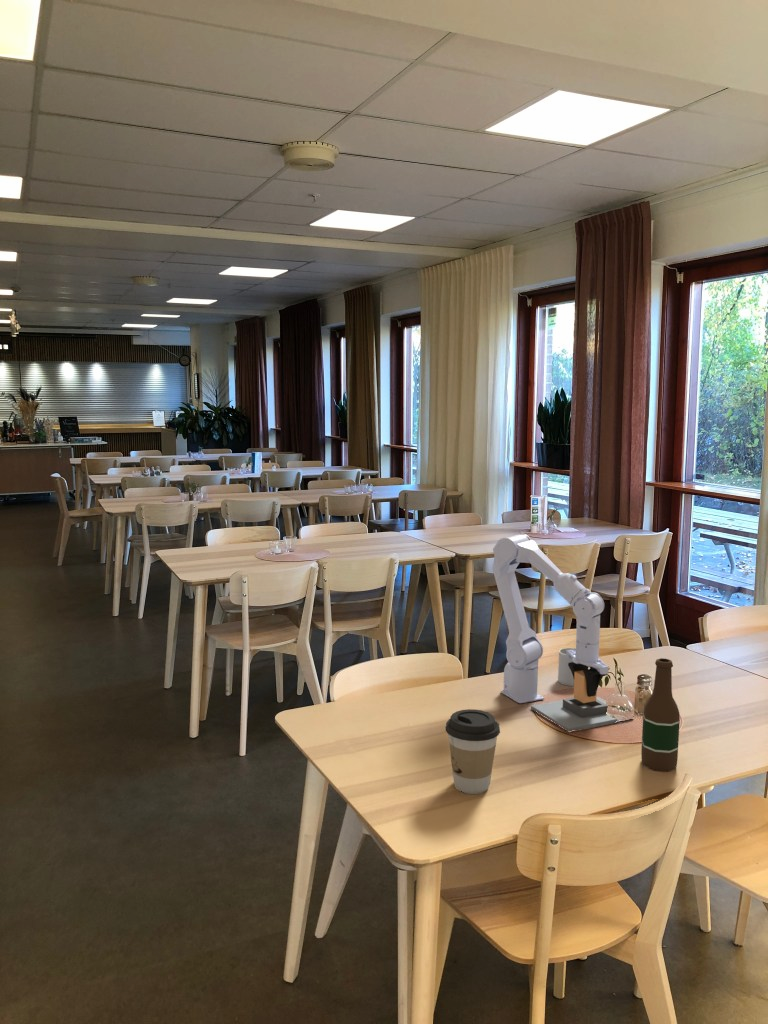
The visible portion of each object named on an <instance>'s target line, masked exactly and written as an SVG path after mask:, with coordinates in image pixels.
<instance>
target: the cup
mask: <svg viewBox="0 0 768 1024" xmlns="http://www.w3.org/2000/svg"><path fill="white" fill-rule="evenodd" d="M567 650H575V651H576V647H575V648H574V647H565V648H564V647H563V648H560V649H559V650H558V667H557V669H558V670H557V671H558V672H557V673H558V674H557V675H558V676H557V679H558V682H559V684H561V685H564V686H568V687H574V678H573V675H572V672H571V670H570V668H569V666H568V663H570V662H572V659H571V658H567V657H566V653H567Z"/></svg>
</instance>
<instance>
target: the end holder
mask: <svg viewBox="0 0 768 1024" xmlns="http://www.w3.org/2000/svg"><path fill="white" fill-rule="evenodd" d="M606 701H607V700H605V699H603V698H602V697H600V696H597V697H596V701H593V702H587V703H582V702H580V701H579V700H577V699H575V698H574V697H570V698H563V699H560V700H554V701H548V702H543V703H538V704H532V705H530V710H532V711H533V710H534V711H533V712H535V711H537V712H538V713H540V714H542V715H543V716H545V717H547V718H548V719H550V720H552V721H553V722H555V723H556V724H558V725H560V726H561V727H563V728H564V729H566V730H567V731H572V730H579V729H584V730H588V729H593V728H597V727H603V726H609V725H611V724H616V723H615V722H616V721H617V719H615V718H612V717H610V716H609V715H607V714H606V712H607V708H608V705H606ZM538 713H537V714H538ZM632 715H633V717H634V718H635V715H634V714H632ZM543 716H542V717H543ZM548 719H547V720H548ZM556 724H555V725H556ZM564 729H563V730H564ZM567 731H566V732H567ZM579 731H580V730H579Z"/></svg>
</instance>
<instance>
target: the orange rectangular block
mask: <svg viewBox="0 0 768 1024" xmlns="http://www.w3.org/2000/svg"><path fill="white" fill-rule="evenodd" d="M597 695H598V691H597V692H596V695H595V696H591V697H589V696H587V687H586V679H585V675H584V673H583V670H582V671H576V672H575V675H574V686H573V698H575V699H577V700H579V701H580V702H582V703H587V702H593V701H596V697H597Z"/></svg>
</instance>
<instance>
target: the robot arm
mask: <svg viewBox="0 0 768 1024" xmlns="http://www.w3.org/2000/svg"><path fill="white" fill-rule="evenodd" d="M492 551H493V555H494V557H493V564H492V571H493V574H494V575H493V576H494V579H495V582H496V586H497V587H496V588H497V590H498V594H499V598H500V601H501V605H502V609H503V614H504V617H505V621H506V625H507V628H508V632H509V633H508V636H507V638H506V640H505V645H506V654H505V656H506V659H507V663H506V664H505V666H504V668H503V669H504V670H503V689H501V690H500V693H502V694H503V695H505V696H507V697H508V698H509V699H511V700H512V701H514V702H516V703H518V704H524V703H530V702H535V701H541V700H544V699H545V697H544V696H542V695H540V693H538V684H539V683H538V682H539V679H538V678H539V676H538V675H539V659H541V658H542V656H543V654H544V647H543V644H542V643H541V641H540V640H539V638H538V637H537V633H536V631H535V630H533V629H532V628H531V627H530V625H529V621H528V618H527V613H526V611H525V607H524V603H523V598H522V595H521V592H520V587H519V584H518V580H517V576H516V573H515V572H516V569H517V567H518V566H519V565H520V563H525V564H531V565H532V566H533V567H534V568H536V569H537V571H539V572H540V573H541V574H543V575H544V576H545V577H546V578H547V579H549V580H550V581H551V582H552V583H553V589H554V591H555V592H557V593H558V595H560V596H561V598H563V599H564V600H565V602H567V603H568V604H569V605H570V606H571V607H572V612H573V614H574V615H575V617H576V629H575V630H576V632H575V633H576V635H575V648H576V651H575V650H567V653H566V657H567V658H571V659H572V662H570V663H568V666H569V668H570V670H571V672H572V675H573V678H574V675H575V672H576V671H582V670H583V673H584V675H585V679H586V687H587V696H589V697H591V696H595V695H596V692H597V693H598V688H599V685H600V684H601V681H602V679H603V678H604V676H605V675H608V674H609V671H610V669H609V666H608V665H607V664H605V662H604V661H602V659H600V657H599V656H600V655H599V654H600V637H601V636H600V633H601V632H600V631H601V629H600V628H601V614H602V612H604V610H605V602H604V598H602V596H601V595H600V594H599V593H597V592H592V591H591V589H589V588H586V587H585V586H584V585H583V583H581V582H579V580H578V577H577V576H576V575H575V574H571V573H570V572H567V573H566V572H565V573H564V572H562V571H561V569H560V568H558V567H557V565H555V563H554V562H552V560H551V559H550V558H549V557H548V556H547V555H546V554H545V553H544V552H543V551H542V550H541V549H540V547H539V546H538V544H537V542H536V541H535V540H534V539H532V538H531V537H530V536H529V535H528V534H526V533H518V534H516V535H512V536H508V537H502V538H500V539H499V540H498V541H497V542H496V543H495V545H494V546H493V548H492Z"/></svg>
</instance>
